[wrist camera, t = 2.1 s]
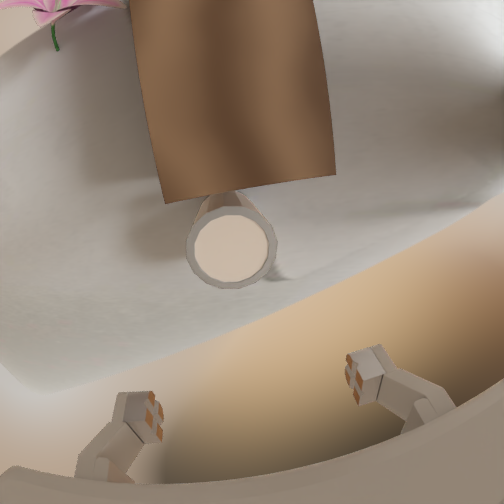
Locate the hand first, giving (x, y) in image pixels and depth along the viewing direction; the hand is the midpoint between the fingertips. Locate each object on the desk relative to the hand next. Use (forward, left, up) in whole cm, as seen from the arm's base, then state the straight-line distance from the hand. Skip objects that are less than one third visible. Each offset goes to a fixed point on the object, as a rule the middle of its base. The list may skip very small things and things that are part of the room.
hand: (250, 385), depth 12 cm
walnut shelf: (-2, -14, -19) cm, 24 cm away
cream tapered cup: (0, 0, -20) cm, 20 cm away
